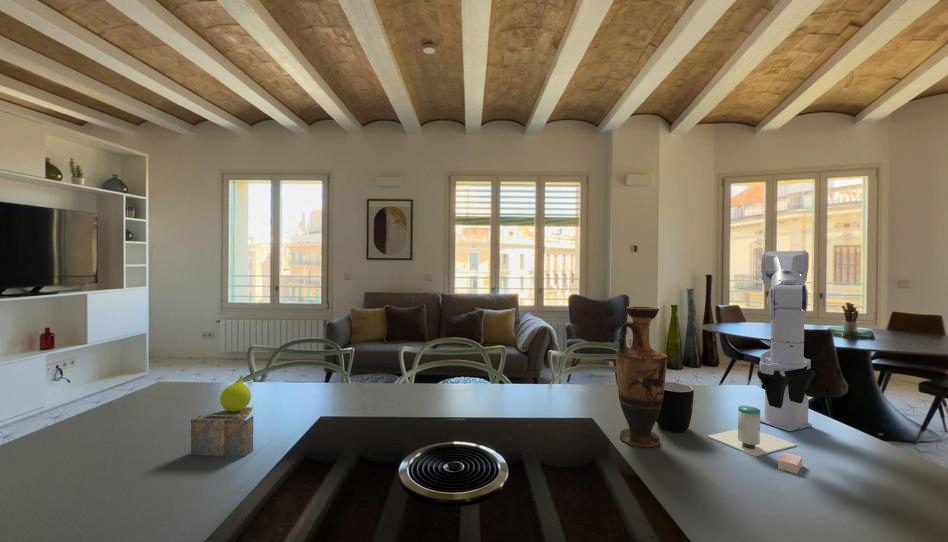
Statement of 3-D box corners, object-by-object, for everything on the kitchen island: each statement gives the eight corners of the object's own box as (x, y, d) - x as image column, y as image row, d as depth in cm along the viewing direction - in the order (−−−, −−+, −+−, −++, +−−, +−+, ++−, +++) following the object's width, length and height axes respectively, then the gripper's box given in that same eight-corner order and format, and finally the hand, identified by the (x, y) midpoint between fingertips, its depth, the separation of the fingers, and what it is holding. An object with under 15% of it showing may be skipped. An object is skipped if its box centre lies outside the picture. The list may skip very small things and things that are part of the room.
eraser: (783, 461, 86) (783, 452, 86) (801, 467, 84) (802, 457, 84) (777, 469, 83) (778, 459, 83) (796, 475, 81) (797, 464, 81)
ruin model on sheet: (254, 451, 89) (254, 405, 89) (246, 458, 86) (246, 410, 86) (200, 450, 89) (201, 404, 89) (190, 457, 86) (191, 409, 86)
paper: (747, 428, 104) (747, 427, 104) (796, 445, 94) (796, 444, 94) (707, 436, 98) (707, 435, 98) (755, 456, 88) (755, 455, 88)
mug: (698, 436, 98) (699, 392, 98) (658, 433, 100) (658, 390, 100) (681, 418, 110) (682, 379, 110) (645, 416, 112) (646, 377, 112)
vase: (666, 436, 98) (668, 306, 98) (665, 454, 88) (668, 310, 88) (617, 428, 103) (618, 304, 103) (611, 444, 93) (613, 307, 93)
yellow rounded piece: (252, 405, 116) (252, 369, 116) (249, 414, 110) (249, 375, 110) (222, 408, 114) (223, 371, 114) (217, 417, 107) (217, 377, 107)
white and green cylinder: (752, 442, 94) (752, 405, 94) (764, 450, 90) (764, 412, 90) (733, 442, 94) (734, 405, 94) (745, 450, 90) (745, 411, 90)
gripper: (786, 336, 98) (785, 395, 98) (746, 340, 91) (745, 403, 91) (822, 341, 91) (821, 404, 91) (782, 345, 85) (781, 413, 85)
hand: (785, 404), depth 91 cm, fingers open, 7 cm apart
